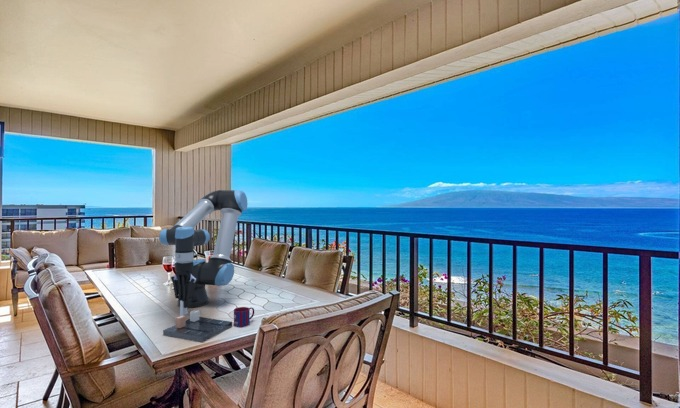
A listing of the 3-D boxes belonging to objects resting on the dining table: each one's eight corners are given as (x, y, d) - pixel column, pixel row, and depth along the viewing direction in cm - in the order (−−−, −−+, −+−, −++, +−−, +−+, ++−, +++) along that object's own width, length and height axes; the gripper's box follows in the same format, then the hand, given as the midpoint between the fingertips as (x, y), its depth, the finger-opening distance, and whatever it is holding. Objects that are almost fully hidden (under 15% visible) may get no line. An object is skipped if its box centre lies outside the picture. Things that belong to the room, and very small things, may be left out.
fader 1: (175, 327, 140) (175, 317, 139) (181, 325, 142) (181, 315, 142) (179, 328, 139) (180, 318, 139) (185, 325, 142) (185, 316, 142)
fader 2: (189, 321, 147) (190, 311, 147) (195, 318, 150) (195, 309, 150) (194, 321, 146) (194, 312, 146) (199, 319, 149) (199, 310, 149)
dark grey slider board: (163, 335, 137) (163, 330, 137) (195, 320, 154) (195, 316, 154) (202, 342, 130) (202, 337, 130) (232, 326, 147) (232, 321, 147)
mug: (230, 324, 150) (231, 309, 150) (250, 319, 157) (251, 304, 157) (238, 328, 145) (238, 312, 145) (258, 322, 152) (258, 307, 152)
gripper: (166, 262, 149) (165, 315, 148) (189, 264, 144) (188, 319, 144) (179, 259, 156) (178, 310, 156) (202, 261, 151) (201, 313, 151)
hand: (183, 314), depth 150 cm, fingers closed
